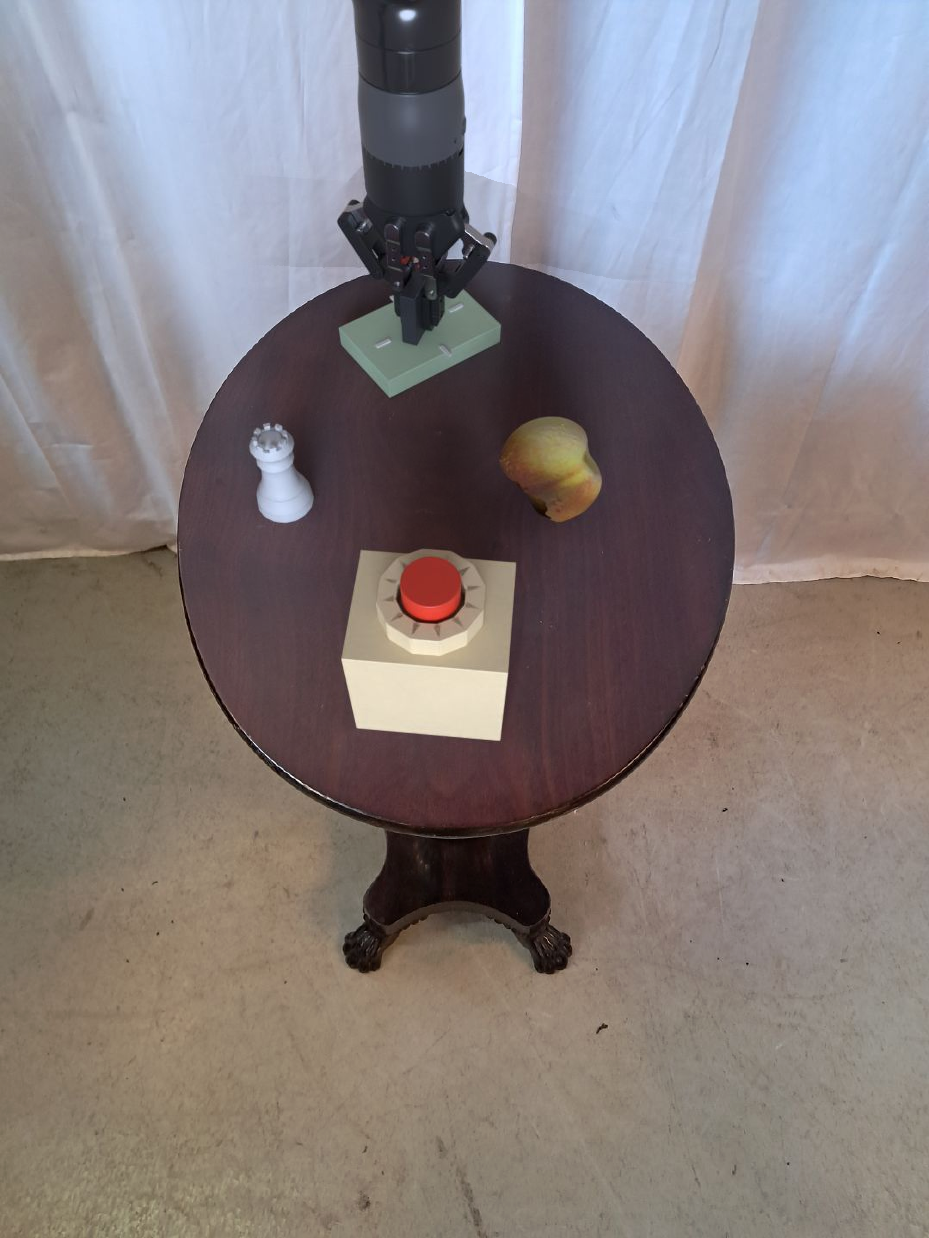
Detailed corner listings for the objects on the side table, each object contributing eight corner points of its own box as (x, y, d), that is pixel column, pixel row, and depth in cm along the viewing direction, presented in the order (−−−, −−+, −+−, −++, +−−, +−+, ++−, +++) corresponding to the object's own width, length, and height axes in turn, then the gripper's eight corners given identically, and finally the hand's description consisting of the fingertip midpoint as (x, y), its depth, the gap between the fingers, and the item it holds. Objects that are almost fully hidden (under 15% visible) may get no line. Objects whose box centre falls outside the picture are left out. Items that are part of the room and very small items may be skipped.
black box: (416, 346, 79) (414, 297, 75) (402, 342, 80) (399, 293, 75) (437, 309, 82) (436, 260, 77) (422, 305, 82) (421, 256, 77)
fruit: (575, 555, 71) (588, 490, 64) (479, 517, 72) (481, 450, 66) (610, 486, 74) (626, 418, 67) (518, 452, 76) (524, 381, 69)
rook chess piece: (286, 473, 75) (269, 403, 68) (326, 501, 73) (313, 433, 66) (246, 506, 73) (225, 438, 66) (286, 535, 71) (268, 469, 64)
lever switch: (393, 402, 79) (392, 384, 77) (337, 341, 82) (334, 322, 81) (504, 346, 82) (505, 327, 81) (445, 289, 86) (445, 270, 84)
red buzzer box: (356, 728, 63) (337, 644, 53) (372, 629, 67) (358, 533, 57) (500, 741, 63) (509, 659, 52) (507, 640, 67) (518, 545, 56)
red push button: (397, 620, 54) (396, 604, 53) (405, 569, 56) (403, 553, 54) (457, 625, 54) (458, 609, 52) (463, 574, 56) (463, 558, 54)
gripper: (303, 139, 65) (331, 330, 80) (484, 181, 62) (479, 370, 77) (346, 84, 68) (365, 277, 83) (519, 122, 66) (507, 313, 81)
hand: (420, 321), depth 80 cm, fingers closed
